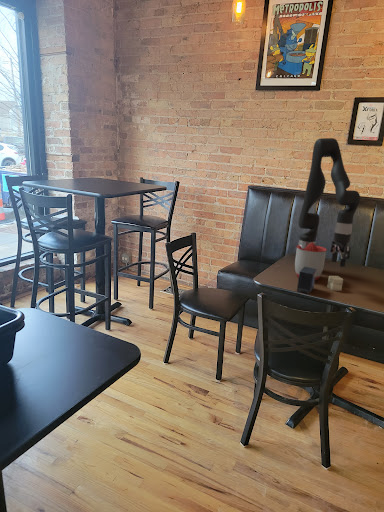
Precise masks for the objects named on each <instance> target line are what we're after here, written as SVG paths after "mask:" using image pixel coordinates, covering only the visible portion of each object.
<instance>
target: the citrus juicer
mask: <svg viewBox="0 0 384 512" xmlns="http://www.w3.org/2000/svg"><path fill="white" fill-rule="evenodd" d="M326 253H327V248H326V247H323V246H320V245H316V243H315V244H314V243H313V242H311V243H310V244H308V245H307V246H306V247H305V248H303V249H302V248H301V246H300V245H299V244H297V245H296V253H295V260H294V269H295V275H296V277H297V278H298V279H299V272H300V271H301V270H302V269H303V268H304V267H309V268H314V269H317V270H316V277H315V281H317V280H319V279H320V278H321V276H322V273H323V271H324V267H325V262H326V260H325V259H326Z"/></svg>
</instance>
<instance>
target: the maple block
mask: <svg viewBox="0 0 384 512" xmlns="http://www.w3.org/2000/svg"><path fill="white" fill-rule="evenodd" d="M343 283H344V279H343V278H342V277H340V276H339V275H329V276H328V280H327V286H326V287H327V288H328V289H329V290H330V291H339V292H341V291H342V289H343Z"/></svg>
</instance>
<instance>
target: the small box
mask: <svg viewBox="0 0 384 512" xmlns="http://www.w3.org/2000/svg"><path fill="white" fill-rule="evenodd" d="M316 270H317V269H314V268H309V267H304V268H303V269H302V270H301V271H300V272H299V278H298V280H297V281H298V282H297V286H296V292H299V293H304V294H307V295H309V294H311V292H313V291H312V290H313V289H314V288H315V282H316V280H315V277H316Z"/></svg>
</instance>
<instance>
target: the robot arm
mask: <svg viewBox="0 0 384 512" xmlns="http://www.w3.org/2000/svg"><path fill="white" fill-rule="evenodd" d="M323 158H331V160H332V167H331V171H330V178H331V181H332V183H333V185H334V191H335V199H336V200H335V201H336V202H337V203H338V204H339V205H340V206H345V208H344V209H342V210H339V211H338V212H337V218H336V223H335V227H334V233H333V240H332V241H331V246H330V251H329V252H330V253H331V255H332V256H331V262H332V263H336V262H337V260H338V254H339V255H340V262H339V263H340V264H339V266H340V267H341V268H345V266H346V262H347V261H346V260H349V259H350V255H351V250H352V249H351V248H352V247H351V246H348V243H350V242H351V238H352V232H353V231H352V230H353V220H354V215H355V213H356V211H357V209H358V208H359V207H358V206H359V204H360V203H361V202H360V201H361V195H360V193H359V191H357V190H354V189H353V190H349V189H348V188H349V187H350V186H351V181H350V178H349V176H348V174H347V172H346V168H345V166H344V162H343V158H342V153H341V149H340V145H339V141H338V139H336V138H333V137H329V138H323V137H322V138H317V139H316V141H315V142H314V145H313V148H312V157H311V165H310V170H309V174H308V179H307V184H306V188H305V194H304V199H303V204H302V206H301V211H300V213H299V217H298V227H299V228H300V229H304V230H308V231H307V232H305V233H302V234H301V233H300V234H299V239H298V245H300V246H301V248H302V249H303V248H305V247H306V246H307V245H308V244H310V243H311V242H313V243H314V244H315V245H316V240H317V234H318V230H319V225H320V215H319V213H316V212H309V211H310V210H311V208H312V206H313V205H314V204H315V203H316V202H317V201H318V200H319V199H320V198H321V197H322V196H323V194H324V190H325V188H326V183H327V182H326V177H325V174H324V172H323V170H322V159H323Z"/></svg>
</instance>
